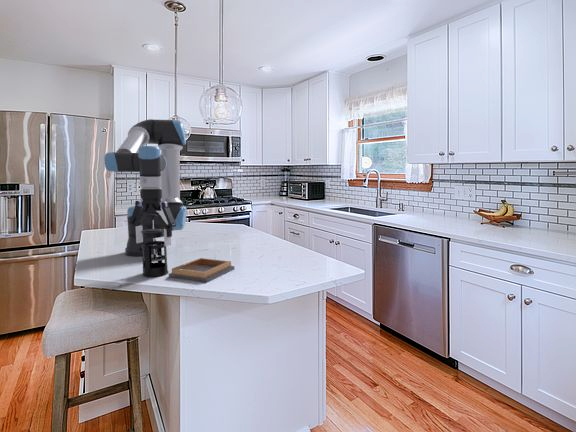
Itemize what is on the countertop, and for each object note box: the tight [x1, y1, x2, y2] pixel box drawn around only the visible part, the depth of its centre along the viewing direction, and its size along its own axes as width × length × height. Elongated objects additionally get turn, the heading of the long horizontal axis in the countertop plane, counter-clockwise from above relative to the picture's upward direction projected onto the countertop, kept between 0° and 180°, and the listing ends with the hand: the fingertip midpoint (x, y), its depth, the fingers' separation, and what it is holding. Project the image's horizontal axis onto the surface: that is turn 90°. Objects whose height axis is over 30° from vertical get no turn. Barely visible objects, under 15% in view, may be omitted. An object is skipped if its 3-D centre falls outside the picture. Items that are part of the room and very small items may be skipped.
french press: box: [141, 214, 169, 278], centre depth 136 cm, size 12×9×23 cm
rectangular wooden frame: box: [168, 257, 235, 283], centre depth 139 cm, size 17×19×3 cm
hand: (153, 244), depth 136 cm, fingers open, 13 cm apart
